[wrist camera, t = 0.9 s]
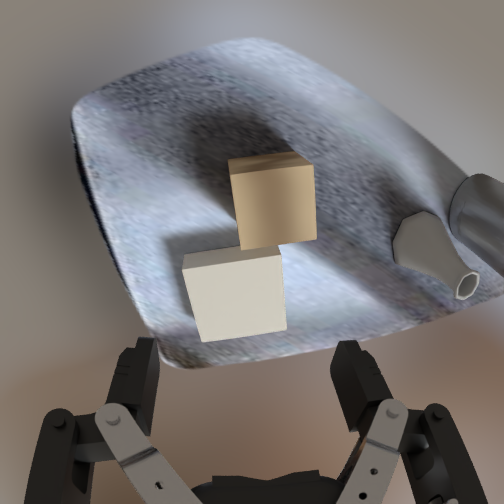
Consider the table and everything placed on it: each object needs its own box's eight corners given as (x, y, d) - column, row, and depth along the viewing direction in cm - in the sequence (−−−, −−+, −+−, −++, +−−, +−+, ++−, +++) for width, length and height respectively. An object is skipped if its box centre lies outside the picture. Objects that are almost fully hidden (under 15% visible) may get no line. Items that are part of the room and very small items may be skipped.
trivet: (275, 240, 31) (281, 254, 29) (281, 312, 35) (286, 329, 33) (184, 254, 31) (181, 269, 28) (202, 324, 35) (201, 342, 32)
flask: (395, 210, 31) (451, 254, 22) (445, 209, 32) (502, 248, 23) (386, 269, 34) (429, 323, 26) (433, 264, 35) (480, 310, 26)
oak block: (294, 151, 28) (313, 164, 22) (298, 212, 30) (316, 239, 25) (227, 159, 27) (230, 175, 22) (236, 221, 30) (241, 250, 25)
